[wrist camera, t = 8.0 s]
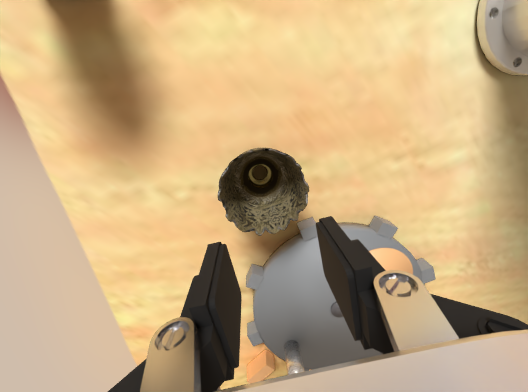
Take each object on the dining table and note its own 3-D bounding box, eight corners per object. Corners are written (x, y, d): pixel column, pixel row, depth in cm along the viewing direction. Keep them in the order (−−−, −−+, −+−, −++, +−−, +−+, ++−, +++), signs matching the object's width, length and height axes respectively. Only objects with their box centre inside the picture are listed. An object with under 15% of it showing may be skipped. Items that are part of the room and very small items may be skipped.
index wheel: (348, 176, 28) (379, 196, 21) (453, 291, 34) (502, 334, 28) (209, 302, 32) (199, 350, 26) (324, 384, 39) (340, 440, 32)
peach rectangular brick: (265, 349, 36) (266, 364, 34) (273, 354, 36) (274, 370, 34) (247, 365, 37) (247, 381, 35) (255, 369, 37) (255, 386, 35)
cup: (300, 192, 29) (318, 220, 21) (240, 212, 29) (237, 247, 21) (281, 129, 26) (294, 135, 19) (216, 151, 27) (203, 167, 19)
